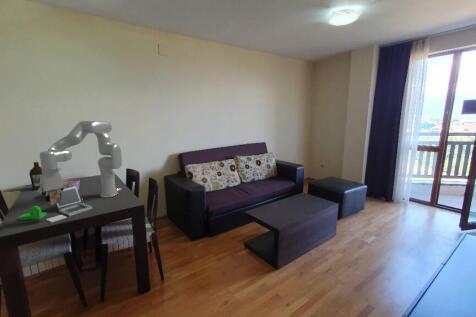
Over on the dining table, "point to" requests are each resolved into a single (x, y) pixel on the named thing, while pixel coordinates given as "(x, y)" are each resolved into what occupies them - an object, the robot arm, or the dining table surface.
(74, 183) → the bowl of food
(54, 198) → the block
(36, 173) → the olive oil
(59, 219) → the mat
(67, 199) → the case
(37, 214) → the mechanical part
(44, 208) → the dining table surface
